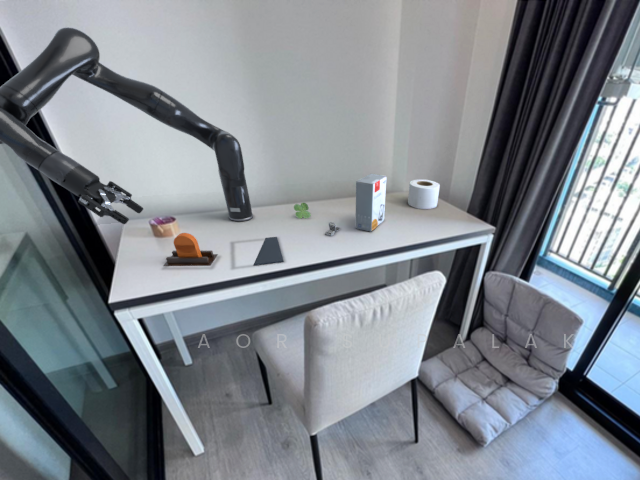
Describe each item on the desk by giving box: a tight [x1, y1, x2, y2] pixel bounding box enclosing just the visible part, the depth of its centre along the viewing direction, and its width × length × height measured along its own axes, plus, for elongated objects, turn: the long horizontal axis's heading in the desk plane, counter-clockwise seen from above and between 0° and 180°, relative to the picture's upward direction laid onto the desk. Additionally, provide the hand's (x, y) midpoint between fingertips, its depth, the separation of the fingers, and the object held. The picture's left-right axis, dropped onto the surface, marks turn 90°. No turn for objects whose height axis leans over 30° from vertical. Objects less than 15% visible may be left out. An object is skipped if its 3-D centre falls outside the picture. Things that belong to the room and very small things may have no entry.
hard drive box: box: [355, 173, 387, 232], centre depth 138 cm, size 16×8×20 cm, turn 161°
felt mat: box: [252, 236, 285, 267], centre depth 115 cm, size 20×16×1 cm
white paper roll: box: [407, 179, 441, 210], centre depth 168 cm, size 16×15×11 cm
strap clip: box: [325, 221, 341, 237], centre depth 133 cm, size 8×3×4 cm, turn 164°
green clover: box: [293, 202, 312, 219], centre depth 146 cm, size 7×8×7 cm
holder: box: [162, 250, 219, 267], centre depth 106 cm, size 14×8×3 cm, turn 98°
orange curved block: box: [173, 232, 202, 257], centre depth 103 cm, size 6×2×9 cm, turn 98°
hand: (134, 216), depth 96 cm, fingers open, 8 cm apart
